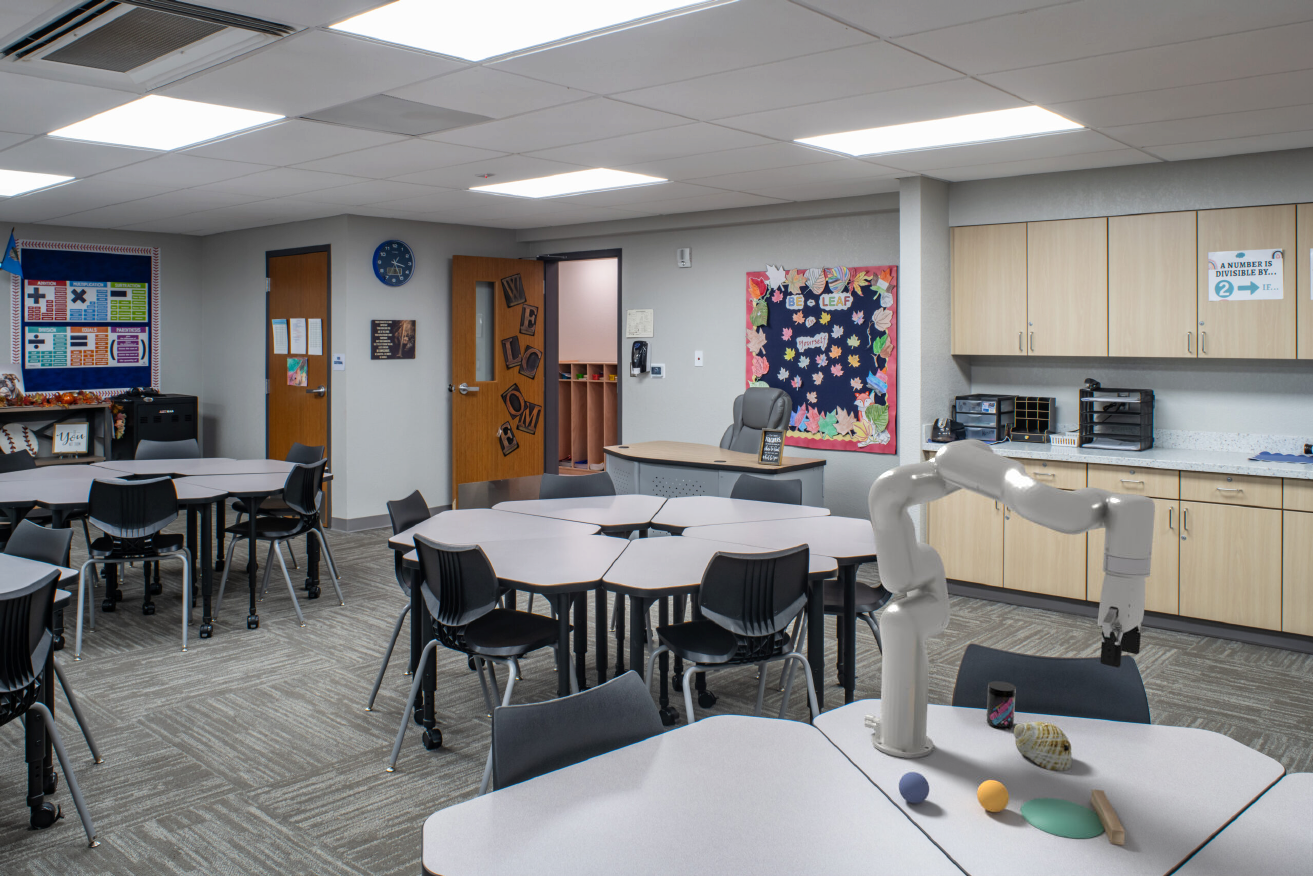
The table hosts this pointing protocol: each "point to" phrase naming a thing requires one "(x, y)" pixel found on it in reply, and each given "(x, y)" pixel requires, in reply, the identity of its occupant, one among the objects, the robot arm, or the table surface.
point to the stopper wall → (1108, 817)
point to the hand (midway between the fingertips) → (1120, 658)
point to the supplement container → (1001, 704)
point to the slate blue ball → (914, 787)
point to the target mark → (1062, 818)
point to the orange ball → (993, 796)
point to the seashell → (1044, 745)
